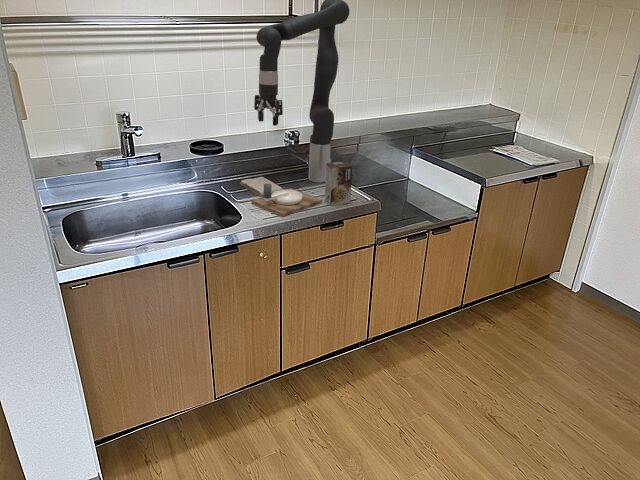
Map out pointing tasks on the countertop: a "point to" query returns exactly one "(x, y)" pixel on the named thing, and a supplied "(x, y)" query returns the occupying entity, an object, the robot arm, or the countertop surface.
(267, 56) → the robot arm
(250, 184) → the washcloth
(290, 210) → the dial board
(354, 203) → the countertop surface
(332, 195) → the coffee box
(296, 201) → the dial
